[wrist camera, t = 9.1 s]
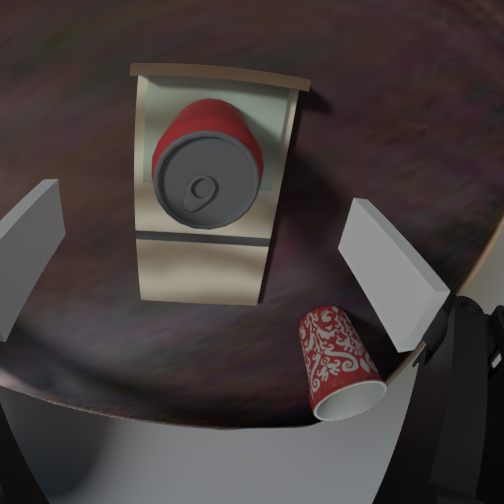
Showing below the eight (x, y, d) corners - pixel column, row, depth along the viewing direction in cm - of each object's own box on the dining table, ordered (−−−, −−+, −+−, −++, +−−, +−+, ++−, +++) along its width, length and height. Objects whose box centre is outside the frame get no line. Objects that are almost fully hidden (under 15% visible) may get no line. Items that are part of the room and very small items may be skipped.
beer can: (158, 146, 26) (122, 203, 16) (199, 83, 23) (186, 95, 13) (219, 182, 28) (224, 256, 18) (262, 124, 26) (295, 167, 16)
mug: (306, 295, 40) (337, 383, 28) (363, 303, 42) (401, 380, 31) (273, 356, 46) (289, 434, 35) (325, 359, 48) (348, 430, 37)
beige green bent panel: (255, 299, 39) (259, 323, 36) (142, 294, 37) (137, 317, 33) (298, 77, 25) (311, 80, 22) (142, 63, 23) (131, 63, 19)
